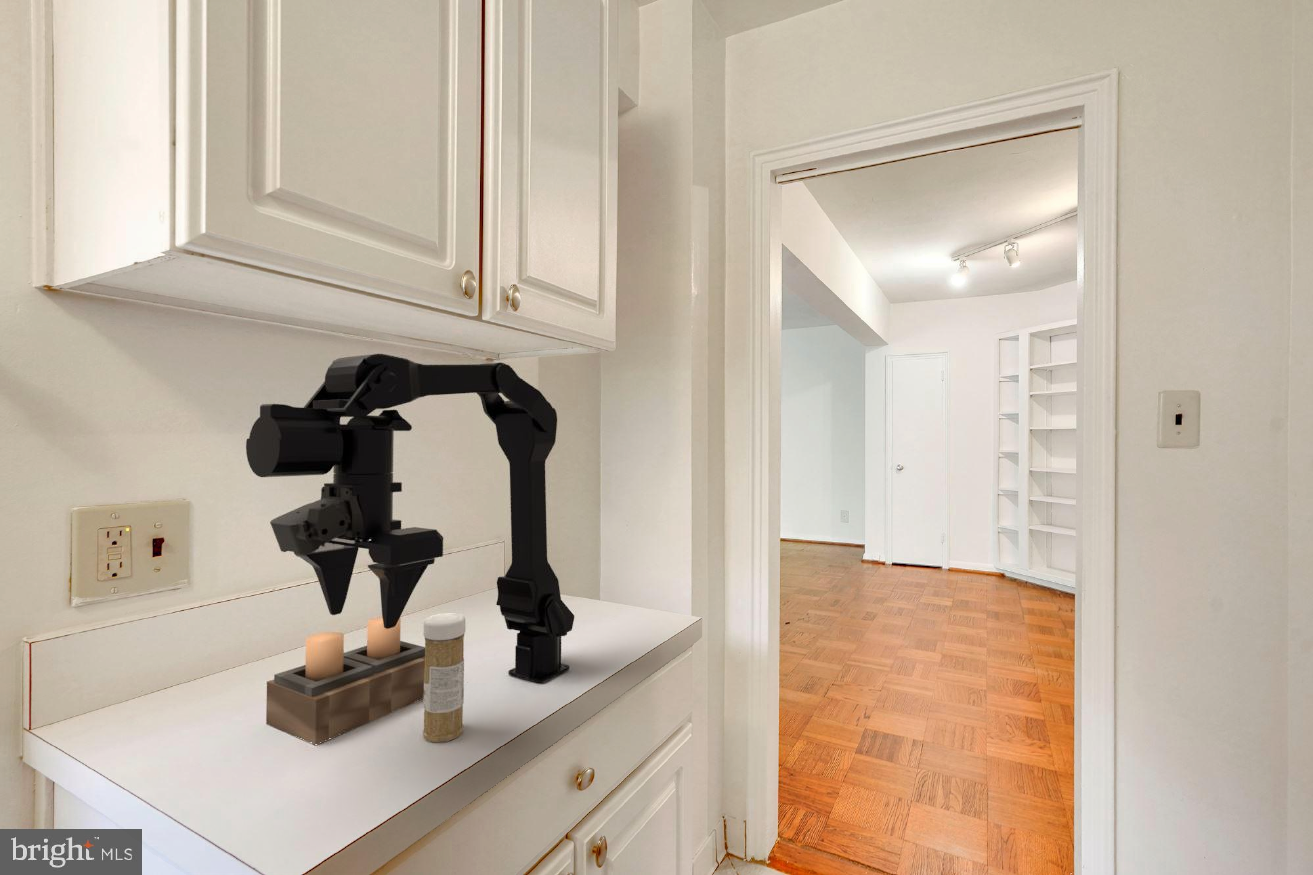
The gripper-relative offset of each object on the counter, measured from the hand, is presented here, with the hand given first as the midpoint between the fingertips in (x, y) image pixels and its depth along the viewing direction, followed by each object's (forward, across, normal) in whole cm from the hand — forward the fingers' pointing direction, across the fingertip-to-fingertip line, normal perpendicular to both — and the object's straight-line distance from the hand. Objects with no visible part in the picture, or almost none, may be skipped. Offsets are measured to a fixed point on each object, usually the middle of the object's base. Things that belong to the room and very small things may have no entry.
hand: (361, 620), depth 64 cm
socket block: (+15, -12, +7) cm, 20 cm away
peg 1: (+11, -12, +3) cm, 16 cm away
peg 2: (+11, -12, +11) cm, 20 cm away
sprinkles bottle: (+15, +3, +8) cm, 17 cm away
